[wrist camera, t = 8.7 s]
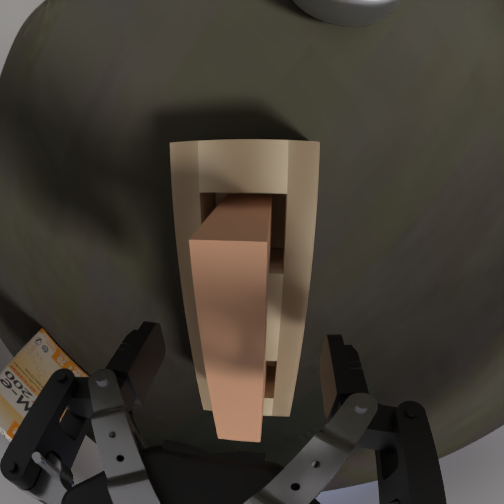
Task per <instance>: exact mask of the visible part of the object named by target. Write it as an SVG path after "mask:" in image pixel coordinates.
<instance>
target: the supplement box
mask: <svg viewBox="0 0 504 504" xmlns="http://www.w3.org/2000/svg"><path fill="white" fill-rule="evenodd" d="M62 368H67V369H70V370H71V371H72V372H73V373H74V375H75V377H90V376H89V375H87V374H86V373H85V372H84V371H83V370H82V369H81V368H80V367H79V366H78V365H77V364H75V362H73V361H72V360H71V359H70V358H69V357H68V356H67V355H66V354H65V353H64V352H63V351H62V350H61V349H60V348H59V346H58V345H57V344H56V343H55V342H54V341H53V340H52V338H51V337H50V336H49V335H48V334H47V332H46V331H45V330H44V329H43V328H42V329H40V330H39V331H38V332H37V333H36V334H35V336H34V337H33V338H32V339H31V340H30V341H29V342H28V343H27V344H26V345H25V346H24V347H23V348H22V349H21V350H20V351H19V353H18V354H17V355H16V356H15V357H14V358H13V359H12V360H11V361H10V362H9V364H8V365H7V366H6V367H5V368H4V369H3V370H2V372H1V373H0V432H1V433H2V434H3V435H4V436H5V437H6V438H7V439H8V440H9V441H10V442H11V440H12V439H13V437H14V435H15V433H16V431H17V430H18V428H19V426H20V424H21V423H22V421H23V419H24V418H25V416H26V414H27V413H28V411H29V409H30V408H31V406H32V404H33V403H34V401H35V400H36V398H37V397H38V395H39V393H40V392H41V390H42V389H43V387H44V386H45V384H46V383H47V381H48V380H49V378H50V377H51V375H52V374H53V373H54V372H55V371H57V370H59V369H62ZM66 410H67V407H66V409H65V411H64V413H63V415H62V416H61V418H60V421H61V419H62V418H63V416H64V414H65V412H66Z"/></svg>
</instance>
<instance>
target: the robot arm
mask: <svg viewBox="0 0 504 504" xmlns="http://www.w3.org/2000/svg"><path fill="white" fill-rule="evenodd" d="M164 356H165V343H164V339H163V335H162V331H161V326H160V324H159V323H154V322H146V321H145V322H143V323H142V325H141V326H140V328H139V329H138V330H133V331H132V332H131V333H129V334H128V335H127V336H126V337H125V339H124V340H123V342H122V344H121V345H120V346H119V349H117V351H116V353H115V354H114V356H113V357H112V359H111V360H110V362H109V363H108V365H107V366H106V368H105V369H99V370H96V371H95V372H93V373H92V374H91V375H90V377H75V375H74V373H73V372H72V371H71V370H70V369H67V368H62V369H59V370H57V371H55V372H54V373H53V374H52V375H51V377H50V378H49V380H48V381H47V383H46V384H45V386H44V387H43V389H42V390H41V392H40V393H39V395H38V397H37V398H36V400H35V401H34V403H33V404H32V406H31V408H30V409H29V411H28V413H27V414H26V416H25V418H24V419H23V421H22V423H21V424H20V426H19V428H18V430H17V431H16V433H15V435H14V437H13V439H12V440H11V442H10V444H9V446H8V448H7V450H6V452H5V454H4V456H3V458H2V460H1V463H0V468H1V472H2V474H3V476H4V477H5V478H7V479H8V480H9V481H10V482H12V483H13V484H15V485H16V486H17V487H18V488H19V489H21V490H22V491H24V492H25V493H27V494H28V495H30V496H31V497H33V498H35V499H37V500H39V501H40V502H42V503H44V504H320V503H319V502H318V501H317V500H316V499H315V498H316V497H317V496H318V495H319V494H320V492H321V491H322V490H323V489H324V488H325V486H326V485H327V484H328V483H329V482H330V480H331V479H332V478H333V476H334V475H335V474H336V473H337V471H338V470H339V469H340V467H341V466H342V465H343V463H344V462H345V461H346V459H347V458H348V456H349V455H350V454H351V452H352V451H353V449H354V448H355V446H357V447H362V448H368V449H374V450H375V455H376V465H377V475H378V487H379V502H380V504H446V497H445V491H444V486H443V480H442V475H441V470H440V465H439V461H438V456H437V452H436V448H435V444H434V440H433V436H432V433H431V429H430V425H429V422H428V419H427V415H426V412H425V409H424V408H423V407H422V405H420V404H419V403H417V402H414V401H405V402H403V403H401V404H400V405H399V406H398V407H391V406H385V405H381V404H379V403H377V401H376V400H375V399H374V398H373V397H372V396H371V395H369V392H368V388H367V385H366V381H365V377H364V373H363V370H362V366H361V362H360V359H359V355H358V352H357V351H356V350H355V349H354V348H353V346H352V345H344V343H343V339H342V336H341V335H325V337H324V342H323V347H322V352H321V356H320V377H321V386H322V394H323V404H324V414H325V424H327V425H326V427H325V428H324V429H323V430H322V431H321V430H320V431H319V432H317V433H316V435H315V436H314V437H313V438H312V439H311V440H310V441H309V442H308V444H307V445H306V446H305V447H304V448H303V449H302V450H301V451H300V452H299V453H298V455H297V456H296V457H295V458H294V459H293V460H292V461H291V462H290V463H289V464H288V465H287V466H286V467H283V466H282V465H280V464H278V463H276V462H273V461H271V460H267V459H265V454H266V453H255V452H242V451H238V452H228V453H216V454H213V453H209V452H206V451H204V450H201V449H199V448H196V447H194V446H192V445H189V444H185V443H180V442H175V441H170V440H166V439H165V441H164V444H163V445H158V446H151V447H147V445H146V443H145V441H144V439H143V437H142V434H141V432H140V429H139V427H138V424H137V421H136V418H135V416H134V413H133V410H132V406H133V404H134V403H135V404H139V405H142V404H143V402H144V400H145V397H146V395H147V393H148V391H149V389H150V386H151V384H152V382H153V380H154V378H155V376H156V373H157V371H158V369H159V367H160V365H161V363H162V361H163V359H164ZM66 407H67V410H66V412H65V414H64V416H63V418H62V419H61V421H60V418H61V416H62V415H63V413H64V411H65V409H66ZM91 422H92V426H93V430H94V434H95V439H96V443H97V446H98V450H99V454H100V457H101V461H102V464H103V468H104V471H102V472H101V473H99V474H97V475H95V476H93V477H91V478H89V479H87V480H85V481H83V482H81V483H79V484H77V485H74V481H73V474H72V472H71V467H72V465H73V462H74V460H75V458H76V455H77V453H78V450H79V448H80V446H81V444H82V442H83V439H84V437H85V435H86V433H87V431H88V428H89V426H90V424H91Z"/></svg>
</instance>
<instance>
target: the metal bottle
mask: <svg viewBox="0 0 504 504" xmlns="http://www.w3.org/2000/svg"><path fill="white" fill-rule="evenodd" d="M292 1H293V2H294V3H295V4H296V5H297V6H298V7H299V8H301V9H302V10H303V11H305V12H306V13H307V14H309V15H311V16H313V17H315V18H316V19H319V20H322V21H324V22H327V23H330V24H334V25H338V26H346V27H360V26H365V25H370V24H372V23H375V22H377V21H379V20H381V19H383V18H385V17H387V16H388V15H390V14H391V13H393V12H394V11H395V10H396V8H397V7H398V6H399V4H400V3H401V1H402V0H292Z"/></svg>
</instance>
